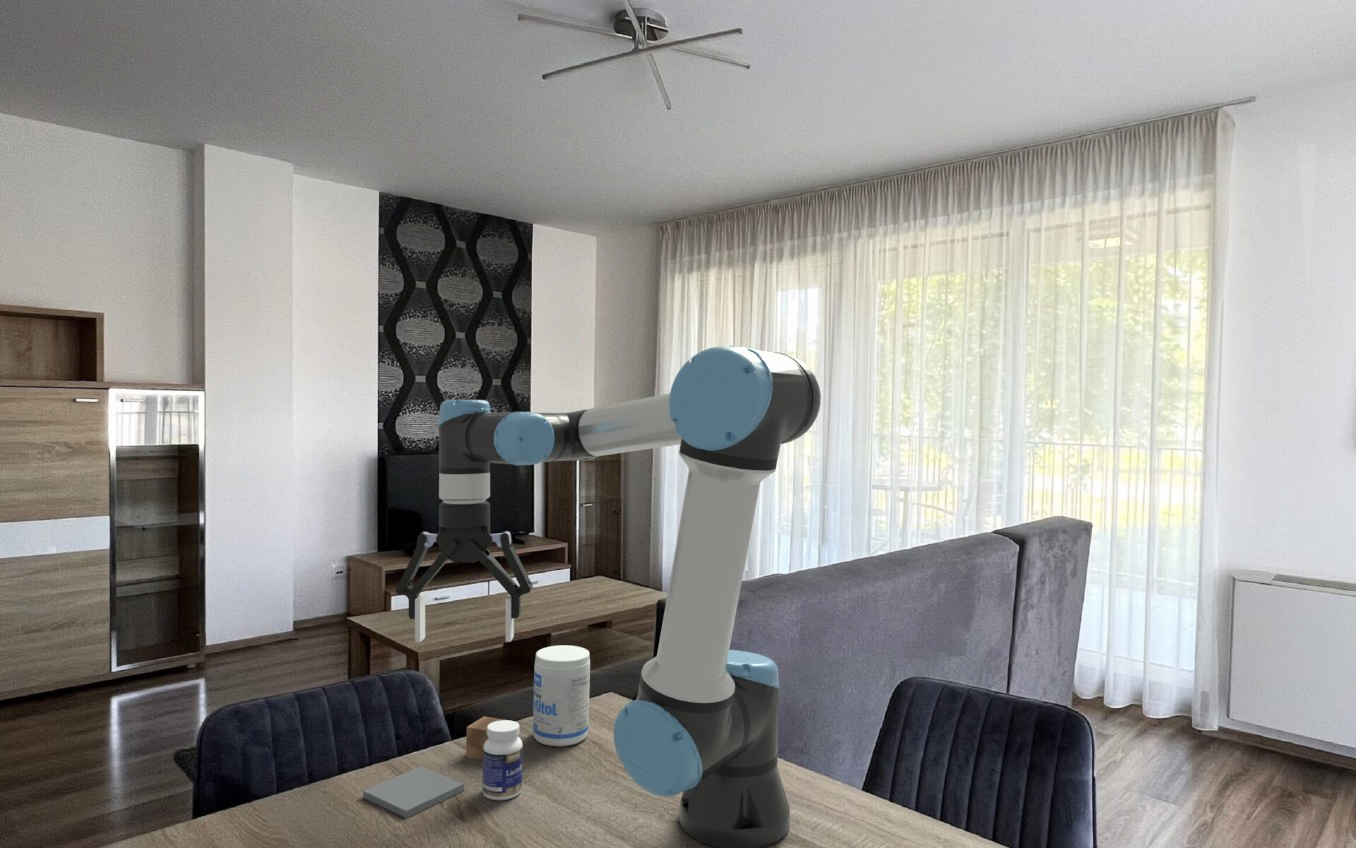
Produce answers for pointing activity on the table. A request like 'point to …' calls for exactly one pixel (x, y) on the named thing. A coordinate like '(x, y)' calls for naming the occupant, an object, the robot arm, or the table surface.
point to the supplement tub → (561, 695)
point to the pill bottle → (502, 761)
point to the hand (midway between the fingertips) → (465, 639)
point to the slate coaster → (413, 791)
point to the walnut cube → (478, 737)
